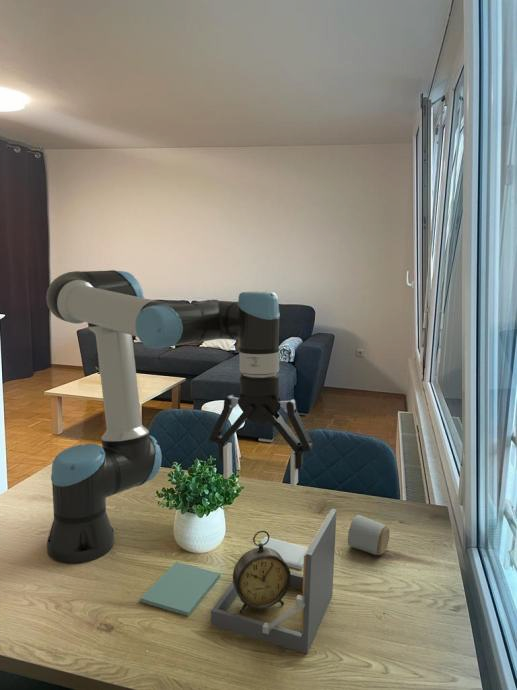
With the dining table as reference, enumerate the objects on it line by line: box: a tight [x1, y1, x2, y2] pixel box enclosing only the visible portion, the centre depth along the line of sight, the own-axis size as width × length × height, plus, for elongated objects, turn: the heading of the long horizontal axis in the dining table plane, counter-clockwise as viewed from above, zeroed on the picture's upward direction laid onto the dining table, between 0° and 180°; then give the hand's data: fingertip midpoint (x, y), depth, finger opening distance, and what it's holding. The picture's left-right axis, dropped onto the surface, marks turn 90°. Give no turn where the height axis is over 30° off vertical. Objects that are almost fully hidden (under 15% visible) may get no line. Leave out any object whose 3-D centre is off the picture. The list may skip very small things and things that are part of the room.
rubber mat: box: [139, 561, 221, 617], centre depth 113 cm, size 11×14×1 cm
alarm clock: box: [232, 530, 291, 614], centre depth 107 cm, size 11×5×16 cm, turn 106°
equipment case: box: [210, 508, 338, 655], centre depth 105 cm, size 19×19×19 cm
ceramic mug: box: [347, 514, 390, 556], centre depth 130 cm, size 11×8×8 cm
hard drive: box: [255, 536, 309, 571], centre depth 127 cm, size 2×8×12 cm
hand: (260, 480), depth 106 cm, fingers open, 13 cm apart
